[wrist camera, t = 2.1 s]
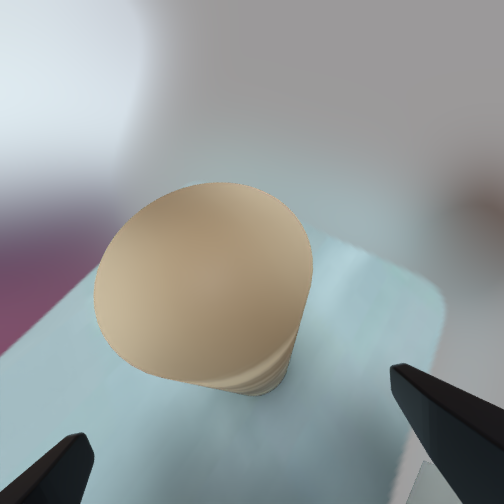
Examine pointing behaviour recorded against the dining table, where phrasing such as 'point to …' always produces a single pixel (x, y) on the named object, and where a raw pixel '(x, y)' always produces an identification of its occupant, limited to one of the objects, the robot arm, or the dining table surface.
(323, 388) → the dining table surface
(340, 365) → the dining table surface
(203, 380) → the peg
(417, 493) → the well block
